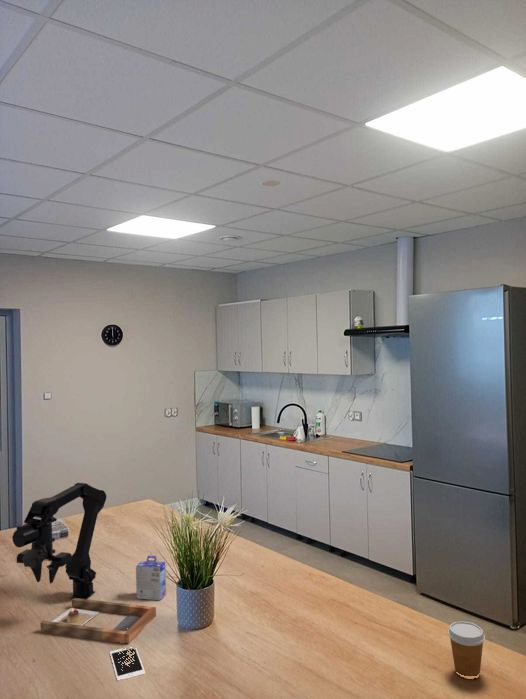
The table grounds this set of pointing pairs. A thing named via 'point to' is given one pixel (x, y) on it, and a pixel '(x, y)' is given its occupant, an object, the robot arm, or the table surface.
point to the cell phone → (127, 671)
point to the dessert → (75, 615)
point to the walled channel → (120, 633)
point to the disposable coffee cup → (466, 647)
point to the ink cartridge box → (151, 579)
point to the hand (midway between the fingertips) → (45, 582)
